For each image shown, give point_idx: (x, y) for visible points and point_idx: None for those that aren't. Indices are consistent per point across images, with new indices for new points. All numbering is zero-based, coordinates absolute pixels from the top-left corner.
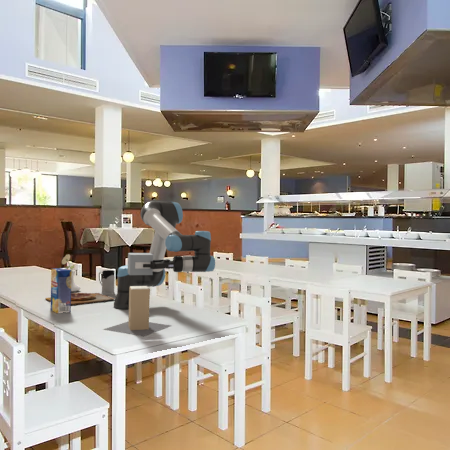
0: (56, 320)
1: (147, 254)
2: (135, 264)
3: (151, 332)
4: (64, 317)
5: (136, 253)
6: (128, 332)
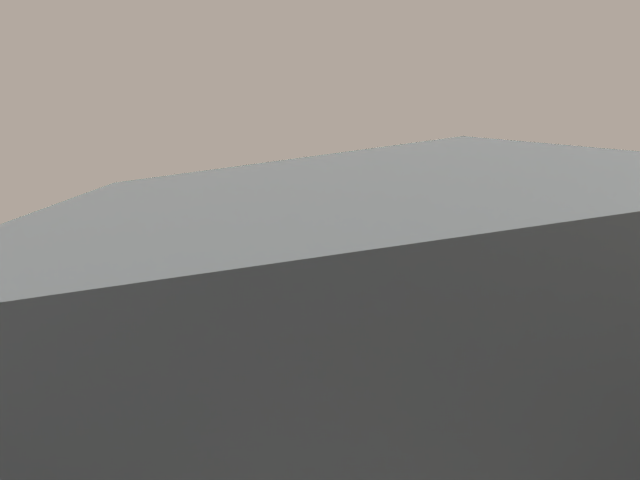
0: None
1: (59, 241)
2: None
3: None
4: None
5: (391, 158)
6: None
